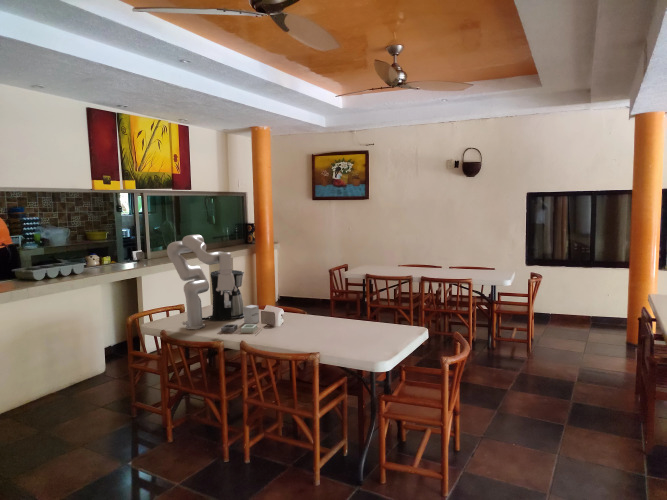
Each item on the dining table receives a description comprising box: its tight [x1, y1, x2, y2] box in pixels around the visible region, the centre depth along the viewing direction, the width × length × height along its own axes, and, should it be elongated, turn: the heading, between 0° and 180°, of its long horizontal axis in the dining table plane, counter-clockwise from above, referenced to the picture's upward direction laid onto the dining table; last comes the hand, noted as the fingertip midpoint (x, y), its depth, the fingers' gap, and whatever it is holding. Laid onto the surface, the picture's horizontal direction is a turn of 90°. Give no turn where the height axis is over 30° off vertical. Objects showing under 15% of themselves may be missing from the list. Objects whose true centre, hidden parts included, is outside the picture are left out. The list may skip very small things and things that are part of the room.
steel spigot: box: [224, 291, 231, 308], centre depth 296 cm, size 4×4×10 cm
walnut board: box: [216, 323, 262, 335], centre depth 298 cm, size 25×14×4 cm, turn 83°
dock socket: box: [240, 323, 258, 333], centre depth 297 cm, size 8×8×3 cm
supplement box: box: [243, 304, 260, 324], centre depth 317 cm, size 7×7×13 cm
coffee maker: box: [202, 269, 245, 322], centre depth 336 cm, size 23×32×34 cm
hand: (227, 300), depth 297 cm, fingers closed on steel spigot, 4 cm apart
